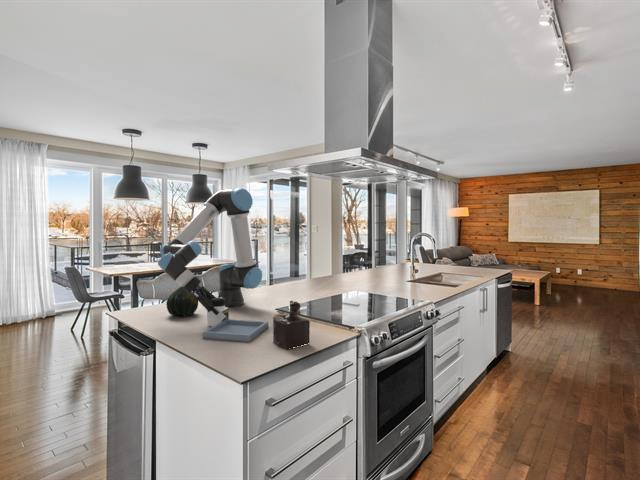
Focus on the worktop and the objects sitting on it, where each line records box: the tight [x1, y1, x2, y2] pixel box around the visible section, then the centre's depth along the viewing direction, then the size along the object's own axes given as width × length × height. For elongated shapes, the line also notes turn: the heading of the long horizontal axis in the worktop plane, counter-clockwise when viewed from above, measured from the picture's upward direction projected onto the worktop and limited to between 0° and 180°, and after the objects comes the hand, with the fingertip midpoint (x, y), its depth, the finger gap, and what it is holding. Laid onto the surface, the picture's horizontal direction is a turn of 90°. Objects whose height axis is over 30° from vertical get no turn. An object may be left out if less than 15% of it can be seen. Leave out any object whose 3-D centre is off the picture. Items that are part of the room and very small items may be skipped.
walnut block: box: [272, 313, 288, 320], centre depth 162 cm, size 6×6×5 cm
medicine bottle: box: [206, 297, 230, 327], centre depth 165 cm, size 7×7×12 cm
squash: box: [165, 286, 199, 318], centre depth 183 cm, size 14×15×15 cm
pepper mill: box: [272, 300, 311, 350], centre depth 136 cm, size 16×11×18 cm
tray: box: [202, 319, 269, 343], centre depth 152 cm, size 20×20×3 cm
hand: (225, 315), depth 165 cm, fingers closed on medicine bottle, 9 cm apart
